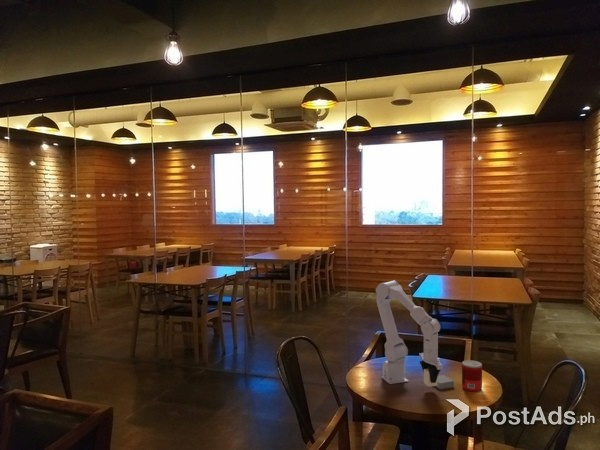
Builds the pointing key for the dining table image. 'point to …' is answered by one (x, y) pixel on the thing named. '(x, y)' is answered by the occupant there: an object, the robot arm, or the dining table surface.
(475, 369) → the canned food
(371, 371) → the dining table surface
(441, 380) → the grey square block
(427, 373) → the cream block
